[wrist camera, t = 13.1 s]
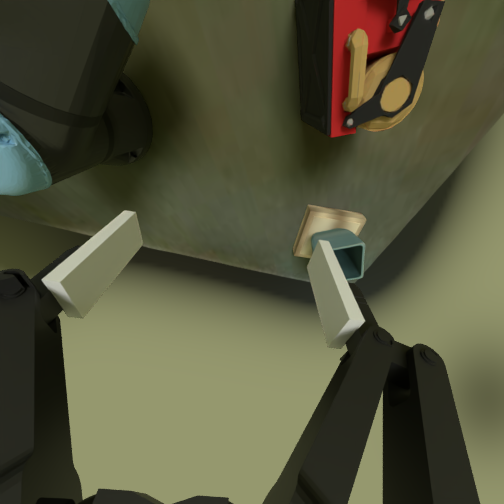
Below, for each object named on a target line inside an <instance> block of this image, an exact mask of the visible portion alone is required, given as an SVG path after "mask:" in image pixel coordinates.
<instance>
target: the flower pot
mask: <svg viewBox="0 0 504 504" xmlns="http://www.w3.org/2000/svg"><path fill="white" fill-rule="evenodd" d="M318 240H324V241H329V243H330V245H331V247H332V249H333V252H334V254H335V256H336V258H337V260H338V263H339V265H340V267H341V269H342V271H343V274H344V276H345V278H346V280H353V279H359V278H362V277H363V270H364V254H365V243H364V242H363V241H362V240H361V239H359V238H358V237H357V236H356V235H355V234H354V233H353V232H351V231H350V230H347V229H342V228H336V229H331V230H326V231H322V232H317V233H315V234H313V236H312V238H311V246H312V254H313V252H314V249H315V247H316V245H317V243H318Z"/></svg>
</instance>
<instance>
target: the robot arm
mask: <svg viewBox="0 0 504 504" xmlns="http://www.w3.org/2000/svg"><path fill="white" fill-rule="evenodd" d="M149 3H150V0H0V195H10V196H19V195H24V194H27V193H31V192H35V191H38V190H43V189H47V188H48V187H50V185H53V184H55V183H57V182H59V181H62V180H64V179H66V178H69V177H71V176H73V175H76V174H78V173H80V172H82V171H85V170H87V169H89V168H92V167H94V166H96V165H98V164H105V165H127V164H130V163H133V162H135V161H137V160H138V159H140V158H142V157H143V156H144V155H145V154H146V152H147V151H148V149H149V147H150V144H151V141H152V122H151V117H150V113H149V110H148V108H147V105H146V103H145V101H144V99H143V97H142V95H141V94H140V92H139V91H138V89H137V88H136V86H135V85H134V84H133V83H132V81H131V80H130V79H129V78H128V77H127V76H126V75H125V74H124V73H123V70H124V67H125V65H126V63H127V61H128V58H129V56H130V54H131V51H132V49H133V47H134V45H135V44H136V45H137V44H138V42H139V39H138V34H139V31H140V28H141V25H142V23H143V20H144V17H145V15H146V12H147V9H148V7H149ZM142 245H143V241H142V236H141V232H140V228H139V223H138V219H137V215H136V212H132V211H125V210H124V211H123V212H122V213H121V214H120V215H118V216H117V217H116V218H115V219H114V220H112V221H111V222H110V223H109V224H108V225H106V226H105V227H104V228H103V229H102V230H100V231H99V232H98V233H97V234H96V235H94V236H93V237H92V238H91V239H90V240H88V241H87V242H86V243H85V244H84V245H82V246H75V247H73V248H71V249H69V250H67V251H66V252H64V253H63V254H62V255H61V256H60V257H59V258H57V259H56V260H54V261H53V263H51V264H49V265H48V266H47V267H46V268H44V269H43V270H42V271H40V272H39V273H38V274H37V275H36V276H34V277H33V278H32V279H29V278H28V276H27V275H26V274H25V272H24V271H22V270H19V269H7V270H2V271H0V504H164V503H162V502H160V501H158V500H156V499H154V498H153V497H151V496H149V495H147V494H144V493H139V492H134V491H124V490H110V489H98V491H97V494H96V495H93V496H90V497H88V498H86V499H84V500H83V499H82V490H81V483H80V479H79V476H78V474H77V472H76V470H75V468H74V464H73V458H72V448H71V436H70V425H69V414H68V403H67V392H66V380H65V369H64V358H63V348H62V337H61V326H60V319H59V317H58V314H59V313H60V312H61V311H62V310H63V311H64V312H65V313H66V315H67V316H68V317H75V318H84V317H85V315H86V314H87V313H88V312H89V311H90V309H91V308H92V307H93V306H94V304H95V303H96V302H97V301H98V299H99V298H100V297H101V296H102V294H103V293H104V292H105V291H106V289H107V288H108V287H109V286H110V284H111V283H112V282H113V281H114V279H115V278H116V277H117V276H118V275H119V273H120V272H121V271H122V269H123V268H124V267H125V266H126V265H127V263H128V262H129V261H130V259H131V258H132V257H133V256H134V255H135V253H136V252H137V251H138V250H139V248H140V247H141V246H142ZM307 270H308V274H309V277H310V281H311V285H312V289H313V293H314V297H315V301H316V305H317V308H318V312H319V316H320V320H321V324H322V328H323V332H324V335H325V339H326V343H327V347H329V348H337V349H341V348H342V347H343V346H344V345H345V344H346V346H347V349H348V351H347V352H346V353H345V354H344V355H343V356H342V357H341V358H340V360H341V362H340V364H339V366H338V368H337V370H336V372H335V374H334V375H333V378H332V379H331V381H330V383H329V385H328V387H327V389H326V391H325V392H324V394H323V396H322V398H321V400H320V402H319V404H318V406H317V407H316V409H315V411H314V413H313V415H312V417H311V419H310V421H309V423H308V424H307V426H306V428H305V430H304V432H303V434H302V436H301V438H300V439H299V442H298V443H297V445H296V447H295V449H294V451H293V452H292V454H291V456H290V458H289V461H288V462H287V464H286V466H285V468H284V470H283V471H282V473H281V475H280V477H279V479H278V480H277V482H276V483H275V485H274V486H273V487H272V489H271V490H270V492H269V493H268V495H267V496H266V498H265V500H264V502H263V504H348V500H349V497H350V494H351V491H352V487H353V484H354V481H355V478H356V475H357V471H358V468H359V465H360V461H361V459H362V455H363V452H364V449H365V446H366V442H367V439H368V436H369V433H370V429H371V426H372V423H373V420H374V417H375V413H376V410H377V407H378V404H379V400H380V397H381V394H382V391H383V504H480V501H479V498H478V494H477V489H476V485H475V482H474V478H473V474H472V470H471V466H470V462H469V458H468V454H467V450H466V446H465V442H464V438H463V434H462V430H461V426H460V423H459V418H458V414H457V410H456V406H455V402H454V398H453V394H452V390H451V386H450V383H449V378H448V374H447V370H446V367H445V364H444V361H443V360H442V358H441V357H440V356H439V354H437V353H436V352H435V351H434V350H433V349H431V348H430V347H428V346H426V345H423V344H416V345H414V346H413V347H412V348H411V347H409V346H406V345H404V344H401V343H399V342H396V341H394V338H393V337H392V336H391V335H390V333H388V332H387V331H386V330H385V329H383V328H381V327H379V326H378V324H377V322H376V320H375V318H374V316H373V314H372V312H371V310H370V308H369V306H368V305H367V302H366V300H365V299H364V296H363V294H362V292H361V290H360V289H359V288H358V287H357V286H356V285H355V284H354V283H348V282H347V280H346V278H345V276H344V274H343V271H342V269H341V267H340V265H339V263H338V260H337V258H336V256H335V254H334V252H333V249H332V247H331V245H330V243H329V241H324V240H318V243H317V245H316V247H315V249H314V252H313V254H312V256H311V259H310V261H309V263H308V266H307ZM228 499H229V498H225V497H210V496H195V497H192V498H189V499H186V500H183V501H180V502H177V503H174V504H233V503H231V502H229V501H228Z"/></svg>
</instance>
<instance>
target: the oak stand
mask: <svg viewBox="0 0 504 504" xmlns="http://www.w3.org/2000/svg"><path fill="white" fill-rule="evenodd" d="M366 220H367V219H366V218H365V217H364V216H363V215H362V214H361V213H357V212H351V211H345V210H339V209H332V208H326V207H320V206H314V205H308V206H307V209H306V212H305V215H304V218H303V220H302V223H301V226H300V229H299V232H298V235H297V238H296V241H295V243H294V246H293V252H294V256H299V257H306V258H311V256H312V246H311V238H312V236H313V234H315V233H317V232H322V231H326V230H331V229H336V228H342V229H347V230H350V231H351V232H353V233H354V234H355V235H356V236H358V234H359V233H360V231H361V229H362V227H363V226H364V224H365V222H366Z"/></svg>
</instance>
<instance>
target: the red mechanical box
mask: <svg viewBox="0 0 504 504" xmlns="http://www.w3.org/2000/svg"><path fill="white" fill-rule="evenodd" d="M444 3H445V1H444V0H295V7H296V20H297V40H298V60H299V80H300V100H301V120H302V121H304V122H306V123H307V124H309V125H311V126H312V127H314V128H316V129H317V130H319V131H321V132H322V133H324V134H325V135H327V136H329V137H331V138H332V137H337V136H342V135H348V134H353V133H356V126H357V127H360V128H363V129H366V130H369V131H383V130H387V129H389V128H391V127H393V126H395V125H396V124H398V123H399V122H400V121H402V120H403V119H404V118H405V117H406V116H407V115H408V114H409V112H410V111H411V110H412V109H413V108H414V106H415V104H416V102H417V100H418V98H419V96H420V93H421V90H422V86H423V79H424V74H423V68H424V65H425V62H426V59H427V55H428V52H429V49H430V46H431V43H432V40H433V37H434V34H435V31H436V27H437V26H438V23H439V19H440V15H441V12H442V9H443V6H444Z"/></svg>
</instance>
